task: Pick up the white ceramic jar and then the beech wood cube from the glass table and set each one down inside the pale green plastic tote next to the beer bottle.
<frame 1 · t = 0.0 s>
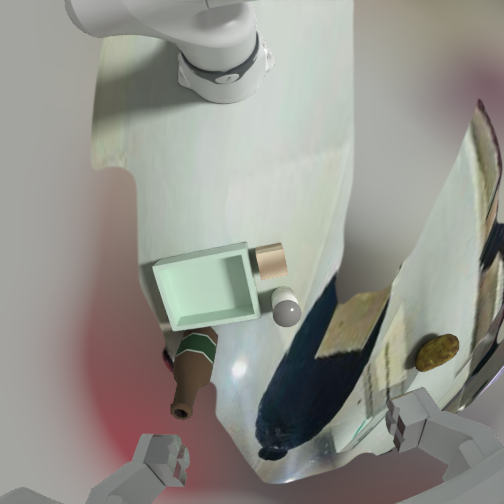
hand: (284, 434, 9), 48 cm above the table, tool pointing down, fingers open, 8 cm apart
beer bottle: (201, 336, 62), on the table
beech cube: (270, 257, 58), on the table
tote: (209, 283, 59), on the table
white jar: (283, 297, 60), on the table
potato: (429, 345, 64), on the table
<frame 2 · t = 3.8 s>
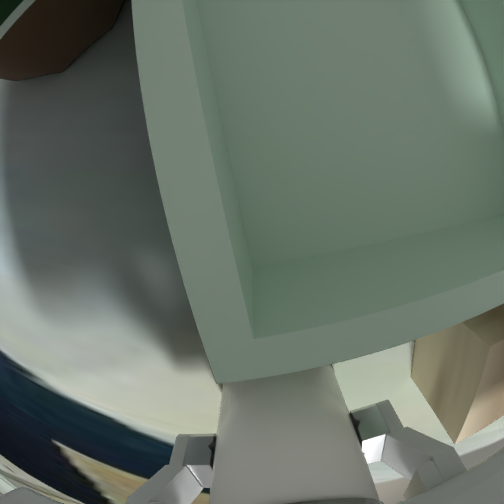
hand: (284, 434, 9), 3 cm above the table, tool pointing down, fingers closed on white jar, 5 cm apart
beer bottle: (66, 14, 7), on the table
beech cube: (455, 321, 11), on the table
tote: (365, 31, 8), on the table
white jar: (279, 389, 12), on the table, touching gripper
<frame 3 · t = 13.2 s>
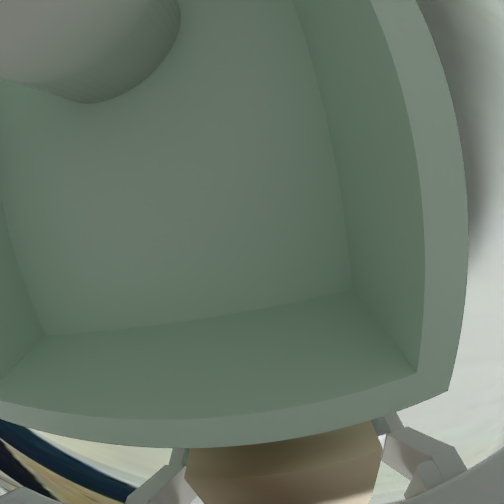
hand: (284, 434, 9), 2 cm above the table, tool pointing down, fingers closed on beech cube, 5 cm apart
beech cube: (281, 405, 11), on the table, touching gripper
tote: (120, 87, 8), on the table
white jar: (108, 36, 7), point 1 cm above the table, touching tote
when the fingers open (4 cm above the table, at t = 18.2 s): beech cube drops 2 cm, resting on tote.
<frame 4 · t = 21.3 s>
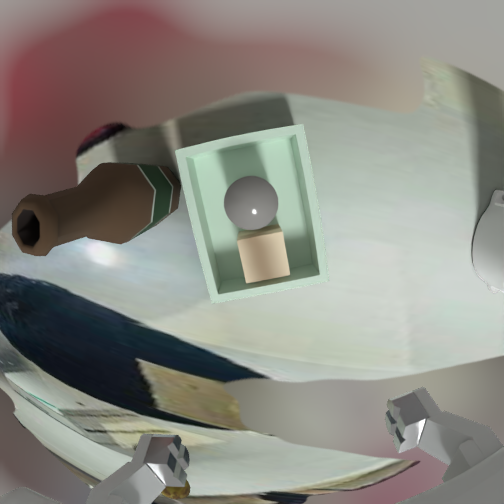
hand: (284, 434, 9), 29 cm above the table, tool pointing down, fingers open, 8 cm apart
beer bottle: (155, 192, 36), on the table
beech cube: (262, 246, 37), point 1 cm above the table, touching tote
tote: (254, 211, 36), on the table
white jar: (251, 196, 35), point 1 cm above the table, touching tote
potato: (167, 465, 51), on the table
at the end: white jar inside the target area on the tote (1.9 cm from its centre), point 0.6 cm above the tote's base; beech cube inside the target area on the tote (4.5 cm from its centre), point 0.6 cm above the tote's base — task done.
